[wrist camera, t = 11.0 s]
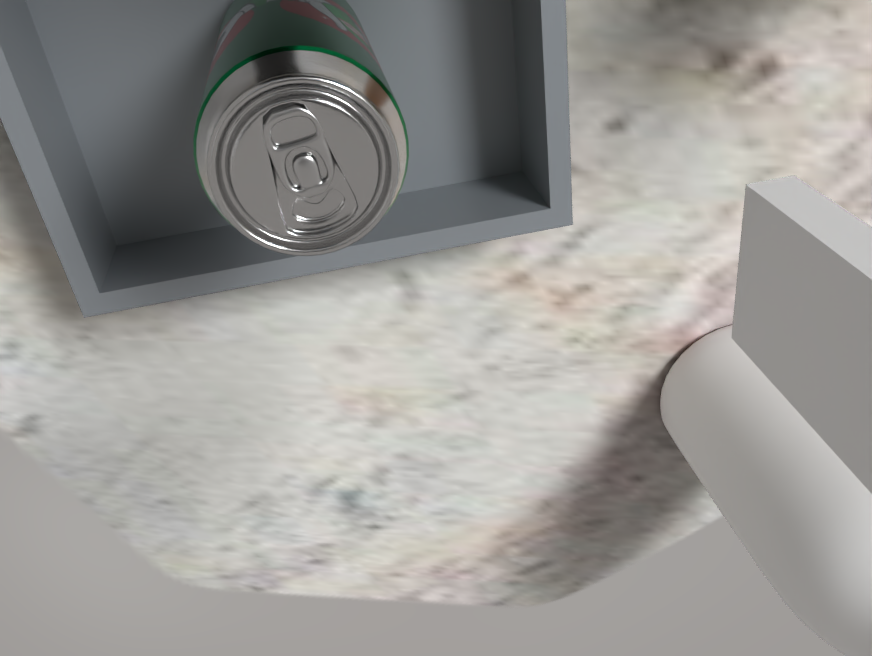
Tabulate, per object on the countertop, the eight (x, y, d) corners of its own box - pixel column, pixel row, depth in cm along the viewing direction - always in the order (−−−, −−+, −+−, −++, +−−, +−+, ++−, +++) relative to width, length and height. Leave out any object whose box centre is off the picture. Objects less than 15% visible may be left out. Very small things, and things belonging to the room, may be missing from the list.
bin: (-48, -135, 25) (-103, -128, 21) (517, -215, 26) (558, -222, 22) (105, 260, 32) (84, 317, 28) (538, 180, 33) (572, 224, 30)
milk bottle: (624, 406, 41) (875, 813, 24) (734, 289, 38) (1102, 654, 21) (722, 462, 44) (1002, 854, 27) (829, 359, 41) (1212, 721, 25)
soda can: (250, 138, 30) (240, 297, 20) (194, -4, 27) (149, 97, 17) (382, 97, 30) (439, 235, 20) (340, -48, 27) (381, 26, 17)
